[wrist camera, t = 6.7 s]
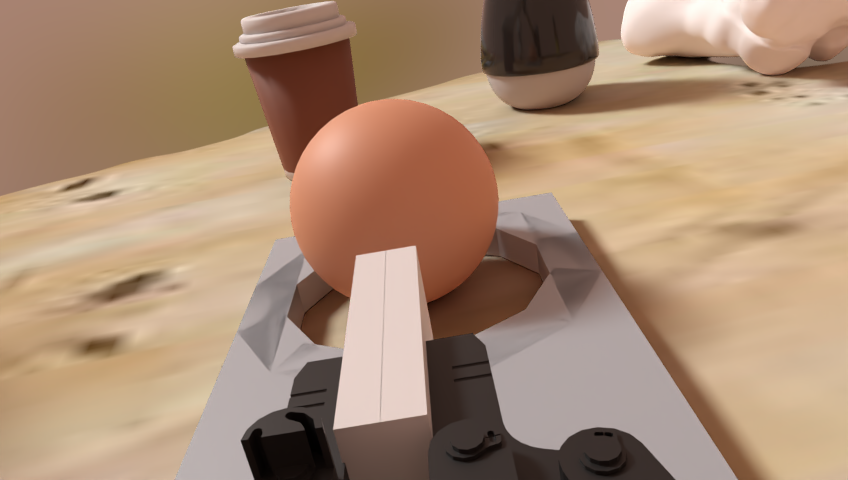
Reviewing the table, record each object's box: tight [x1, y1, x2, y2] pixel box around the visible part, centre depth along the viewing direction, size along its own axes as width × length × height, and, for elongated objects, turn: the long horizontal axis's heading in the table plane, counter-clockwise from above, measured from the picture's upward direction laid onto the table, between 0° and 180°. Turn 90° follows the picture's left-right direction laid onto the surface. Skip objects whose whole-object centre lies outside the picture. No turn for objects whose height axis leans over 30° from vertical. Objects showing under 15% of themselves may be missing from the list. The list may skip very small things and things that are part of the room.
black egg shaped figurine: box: [481, 0, 599, 110], centre depth 57 cm, size 10×10×15 cm
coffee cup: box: [233, 1, 358, 180], centre depth 51 cm, size 9×9×12 cm
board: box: [175, 193, 738, 480], centre depth 24 cm, size 27×15×2 cm, turn 2°
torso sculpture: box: [621, 0, 848, 75], centre depth 58 cm, size 18×10×25 cm
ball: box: [290, 99, 499, 303], centre depth 29 cm, size 9×9×9 cm
